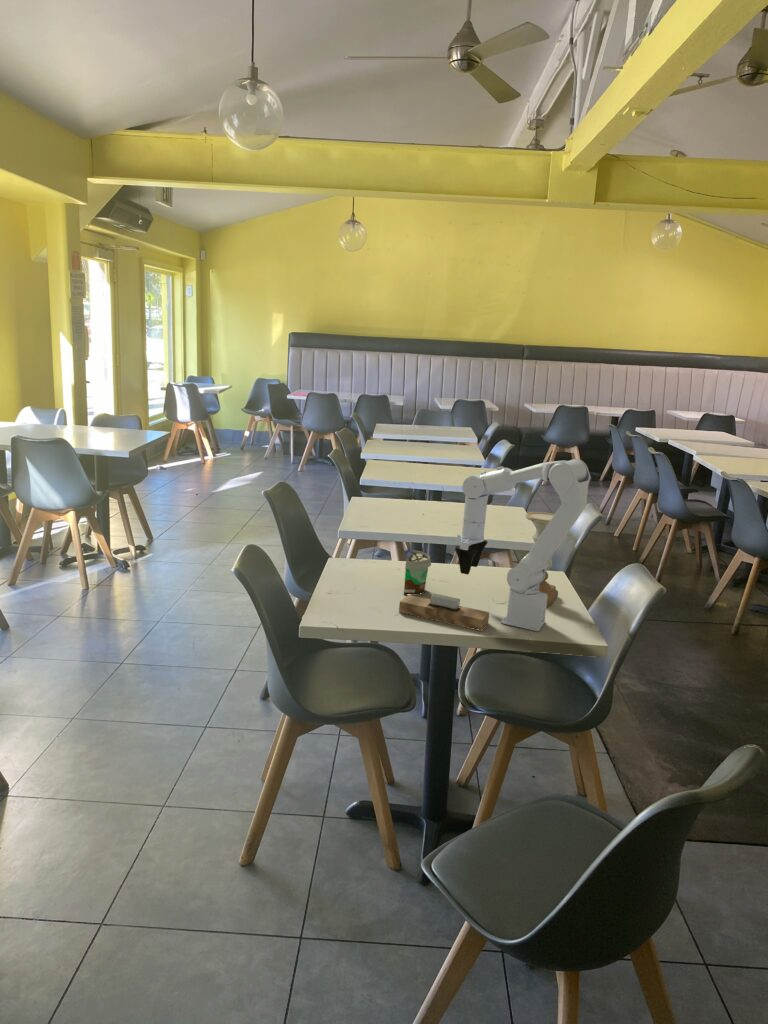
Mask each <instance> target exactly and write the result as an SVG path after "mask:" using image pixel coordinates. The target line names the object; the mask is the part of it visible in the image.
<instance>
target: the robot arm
mask: <svg viewBox="0 0 768 1024" xmlns="http://www.w3.org/2000/svg"><path fill="white" fill-rule="evenodd" d="M589 470H590V469H589V467H588V466H587V463H586V462H584V461H583V460H582V459H579V458H573V459H570V460H564V459H563V460H556V461H555V460H553V461H547V462H541V463H538V464H535V465H531V466H528V467H524V468H521V469H520V468H519V469H517V470H516V469H515V470H513V469H511V468H508V467H504V465H503V466H502V465H501V466H499V467H496V469H495V470H492V471H486V470H483V471H481V472H480V474H476V475H470V476H468V477H467V478H465V479H463V483H462V491H463V494H464V495H465V499H464V511H463V518H462V520H463V521H462V529H461V532H460V533H458V534H456V535H457V538H460V543H459V544H460V545H456V546H455V548H454V550H455V551H454V552H455V553H456V555H457V558H458V563H459V572H460V574H463V575H469V574H470V571H471V570H472V569H471V568H472V567H473V568H478V566H479V563H480V560H481V556H482V554H483V551H484V549H486V548H485V547H486V546H487V545H488V540H485V536H484V535H485V527H486V526H485V525H486V516H487V508H488V507H487V506H488V500H489V496H490V495H495V494H499V493H503V492H508V491H512V490H514V488H515V487H516V485H517V484H519V483H522V482H529V481H533V480H538V479H541V480H543V481H544V482H545V483H549V482H550V484H551V486H552V487H553V488H554V490H555V492H556V494H557V495H558V497H559V499H560V503H561V504H560V505H559V507H558V508H557V510H556V512H555V513H553V514H554V516H553V517H552V519H551V520H550V522H549V523H548V525H547V526H546V528H545V529H544V531H543V532H542V534H541V535H540V537H539V538H538V540H537V541H536V543H534V544H533V546H532V548H531V549H530V550H529V552H528V553H527V554H526V555H525V556H524V557H523V558H522V559H521V560H519V562H518V563H517V565H516V566H513V567H512V568H511V569H509V570H508V572H507V576H506V582H507V585H508V586H509V594H508V595H509V596H508V603H507V613H506V616H504V618H503V619H502V621H501V624H504V625H508V626H513V627H516V628H521V629H526V630H529V631H533V632H534V631H535V632H539V631H540V630H541V629H542V627H543V625H544V624H545V622H546V611H547V607H546V606H547V594H545V593H542V592H540V591H539V584H540V583H541V582H542V581H543V580H544V578H545V572H547V571H546V569H547V567H548V566H549V564H548V561H549V560H550V558H551V559H552V557H553V556H554V554H555V552H556V551H557V550H558V548H559V547H560V545H561V544H562V542H563V541H564V539H565V538H566V536H567V535H568V534H569V532H570V530H571V529H572V528H573V526H574V525H575V524H576V522H577V520H578V519H579V517H580V516H581V515H582V513H583V512H584V510H585V509H586V506H587V503H588V493H589V491H588V490H589V484H590V481H591V479H592V476H591V474H590V471H589Z"/></svg>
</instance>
